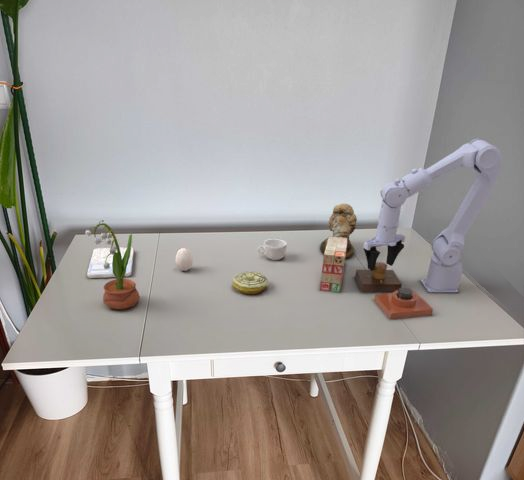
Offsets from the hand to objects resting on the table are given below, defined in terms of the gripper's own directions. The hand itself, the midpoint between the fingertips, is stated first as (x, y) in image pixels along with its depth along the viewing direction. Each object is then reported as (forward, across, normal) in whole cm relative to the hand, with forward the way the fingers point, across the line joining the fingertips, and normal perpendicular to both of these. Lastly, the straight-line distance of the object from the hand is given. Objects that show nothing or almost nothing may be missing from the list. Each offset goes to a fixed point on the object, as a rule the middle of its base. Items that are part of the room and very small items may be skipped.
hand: (380, 266), depth 154 cm
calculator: (+6, -69, +51) cm, 86 cm away
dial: (+3, 0, 0) cm, 3 cm away
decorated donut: (+6, -37, +16) cm, 41 cm away
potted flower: (+6, -75, +25) cm, 79 cm away
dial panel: (+6, 0, 0) cm, 6 cm away
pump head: (+3, -3, -14) cm, 15 cm away
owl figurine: (+6, +5, +28) cm, 29 cm away
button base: (+6, -3, -14) cm, 16 cm away
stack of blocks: (+6, -9, +11) cm, 16 cm away
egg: (+6, -50, +37) cm, 62 cm away
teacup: (+6, -19, +32) cm, 38 cm away
